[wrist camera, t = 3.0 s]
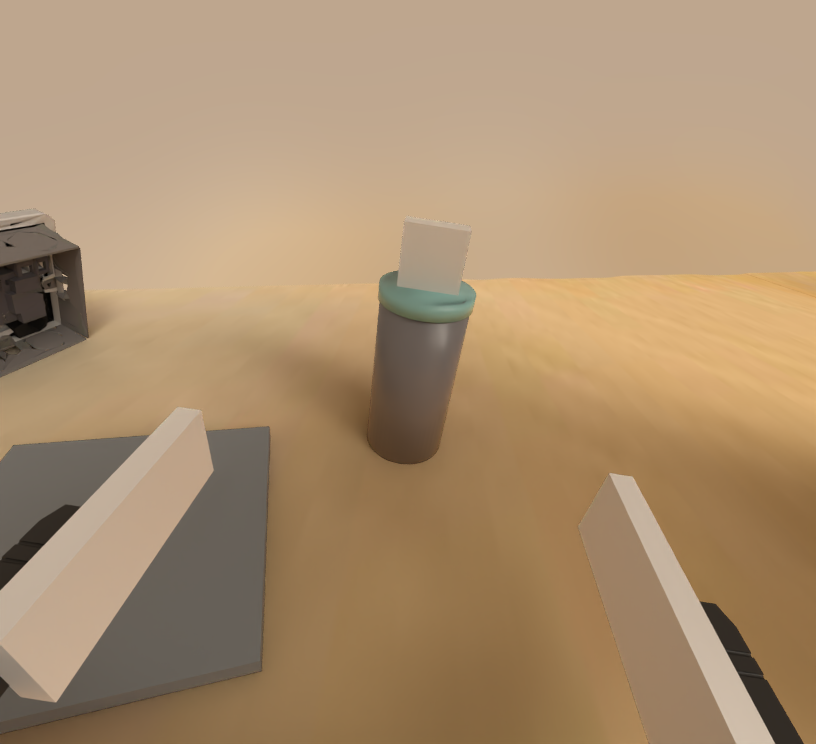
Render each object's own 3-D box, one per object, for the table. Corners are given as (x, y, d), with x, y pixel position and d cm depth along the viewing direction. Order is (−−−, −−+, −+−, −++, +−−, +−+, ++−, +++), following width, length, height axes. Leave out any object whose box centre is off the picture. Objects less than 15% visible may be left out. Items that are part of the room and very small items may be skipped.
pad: (270, 436, 23) (269, 426, 23) (261, 671, 14) (259, 661, 13) (20, 456, 20) (13, 445, 19) (-225, 788, 10) (-249, 779, 10)
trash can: (441, 418, 27) (486, 220, 20) (440, 471, 23) (496, 244, 16) (372, 408, 27) (392, 206, 20) (358, 458, 23) (377, 227, 16)
